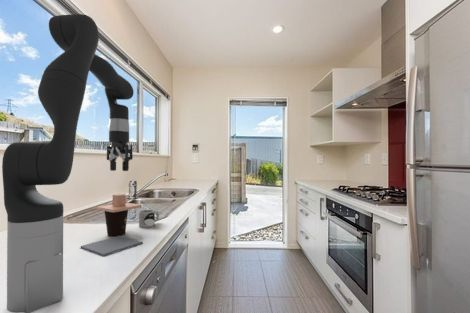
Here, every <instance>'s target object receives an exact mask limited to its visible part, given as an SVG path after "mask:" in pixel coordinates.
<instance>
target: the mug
mask: <svg viewBox="0 0 470 313" xmlns="http://www.w3.org/2000/svg"><path fill="white" fill-rule="evenodd" d="M159 217H160V212H159V211H158V210H154V209H142V210H139V211H138V227H139V228H141V229H146V228H147V229H148V228H152V227H155V225H156V224H155V223H157V222H158V221H159V220H160V219H159Z"/></svg>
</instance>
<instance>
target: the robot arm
mask: <svg viewBox="0 0 470 313" xmlns="http://www.w3.org/2000/svg"><path fill="white" fill-rule="evenodd" d="M48 30H49V32H50V36H51V37H52V38H51V39H53V41H54V42H55V44H56V45H57V46H58V47H59V49H61V50H62V51H64V52H62V53H61V54H59V55H58V56H57V57H55V59H53V60H52V61H51V62H50V63H49V64H48V65H47V66H46V67H45V69H44V71H43V73H42V76H41V79H40V81H39V86H38V90H37V95H38V100H39V101H40V102H39V103H41V105H42V107H43V109H44V110H45V112H46V113H47V115H48V117H49V118H50V120H51V122H52V124H53V127H54V128H53V136H52V139H51V140H50V141H15V142H14V141H13V142H12V143H10V144H8V146H7V147H6V148H5V150H4V153H3V156H2V165H1V168H2V170H1V173H2V186H3V202H4V204H3V205H4V209H5V211H6V215H7V217H6V218H7V229H6V230H7V231H6V232H7V234H6V235H7V237H6V310H7V311H8V312H10V313H33V312H36V311H38V310H41V309H43V308H45V307H47V306H51V305H52V304H55V303H57V302H59V301H62V300H63V299H64V297H63V295H64V203H63V202H62V201H59V200H56V199H54V198H50V197H47V196H45V195H43V194H41V192H39V191H38V190H37V186H53V185H55V186H56V185H62V184H64V183H66V182H67V181H68V179H69V177H70V175H71V173H72V169H73V163H74V155H75V146H76V137H77V131H78V129H77V128H78V123H79V118H80V113H81V110H82V106H83V102H84V98H85V92H86V88H87V82H88V77H89V72H90V73H91V74H92V75H94V78H96V79H97V81H99V83H100V84H101V85H102V86H103V87H104V93H105V96H106V100H107V103H108V108H109V121H108V122H109V123H108V141H109V143H111V145H107V146H106V161H109V169H110V171H111V172H112V171H113V172H115V171H116V170H117V159H118V158H121V160H122V163H121V164H122V167H121V168H122V172H128V171H129V169H130V168H129V167H130V166H129V164H130V161H131V160H133V157H134V156H133V144H128V143H129V142H130V122H129V120H130V119H129V107H128V106H127V105H124V104H120V103H119V102H117V100H119V101H120V100H123V101H124V100H125V101H126V100H130V99H132V98H133V96H134V88H133V85H132V84H131V83H130V81H128V80H127V79H126V78H124V77H123V76H122V75H120V74H119V73H118V72H117V70H116V68H114V66H113V65H112V64H111V63H110V62H109V61H108V60H106V59H104V58H103V57H101V56H99V55H97V54H96V51H97V49H98V46H99V38H100V36H99V29H98V26H97V23H96V22H95V20H94V19H93V18H92V17H91V16H89V15H86V14H83V13H75V14H74V13H73V14H60V15H59V14H58V15H55V16H54V15H53V16H52V17H50V19H49V20H48Z"/></svg>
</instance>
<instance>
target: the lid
mask: <svg viewBox="0 0 470 313" xmlns="http://www.w3.org/2000/svg"><path fill="white" fill-rule="evenodd" d="M126 198H127V197H126V194H124V193H118V194H116V193H115V194H112V204H107V205H106V204H105V205H99V206H96V207H95V210H97V211H101V212H102V211H103V212H105V211H108V212H113V213H114V212H119V211H125V210H128V211H129V210H134V209H140V208H142V204H139V203H131V202H127V201H126V200H127V199H126Z"/></svg>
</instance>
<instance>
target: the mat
mask: <svg viewBox="0 0 470 313" xmlns="http://www.w3.org/2000/svg"><path fill="white" fill-rule="evenodd" d="M141 244H144V243H143V241H141V240H138V239H135V238H130V237H127V236H124V235H121V236H120V235H119V236H116V237H109V238H106V239H105V238H104V239H102V240H97V241H94V242H91V243H87V244H83V245H81V246H80V249H83V250H85V251H88V252H91V253H93V254H97V255H99V256H102V257H105V256H108V255H112V254H115V253H117V252H121V251H124V250H127V249H129V248H130V249H131V248H132V247H136V246H139V245H141Z"/></svg>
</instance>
